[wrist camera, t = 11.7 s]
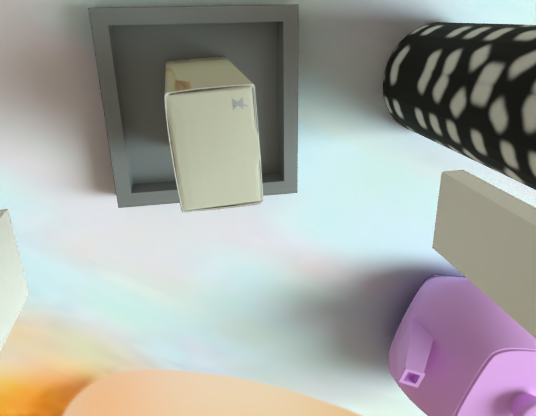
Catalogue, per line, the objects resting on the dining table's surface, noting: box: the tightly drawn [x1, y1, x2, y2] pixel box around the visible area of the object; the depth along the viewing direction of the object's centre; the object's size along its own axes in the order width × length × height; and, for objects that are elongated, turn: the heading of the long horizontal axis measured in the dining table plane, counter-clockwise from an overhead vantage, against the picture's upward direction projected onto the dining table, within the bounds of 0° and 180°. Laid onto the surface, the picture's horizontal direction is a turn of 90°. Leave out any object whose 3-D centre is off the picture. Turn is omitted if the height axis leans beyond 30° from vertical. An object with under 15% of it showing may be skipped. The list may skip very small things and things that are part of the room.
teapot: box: [389, 275, 536, 416], centre depth 40 cm, size 20×12×13 cm, turn 70°
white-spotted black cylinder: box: [383, 23, 536, 190], centre depth 28 cm, size 8×8×20 cm
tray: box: [88, 5, 298, 208], centre depth 33 cm, size 13×13×2 cm
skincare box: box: [164, 57, 263, 212], centre depth 28 cm, size 6×4×12 cm
